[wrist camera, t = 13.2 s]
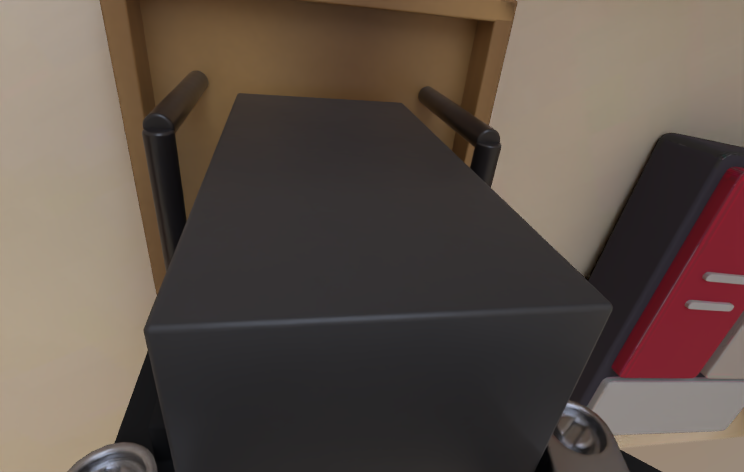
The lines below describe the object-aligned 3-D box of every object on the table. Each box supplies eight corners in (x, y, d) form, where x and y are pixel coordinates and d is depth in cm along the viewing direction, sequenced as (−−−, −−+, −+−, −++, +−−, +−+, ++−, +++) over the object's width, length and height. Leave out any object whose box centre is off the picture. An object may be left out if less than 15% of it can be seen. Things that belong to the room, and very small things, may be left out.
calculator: (940, 195, 17) (733, 443, 24) (822, 162, 21) (671, 384, 27) (747, 155, 14) (569, 451, 21) (650, 126, 18) (525, 384, 24)
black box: (250, 328, 17) (220, 680, 8) (236, 92, 12) (139, 329, 4) (374, 321, 18) (460, 628, 9) (403, 102, 13) (618, 306, 5)
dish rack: (184, 355, 19) (148, 494, 14) (116, -45, 11) (-15, -70, 6) (419, 340, 21) (464, 454, 16) (489, -2, 14) (614, 6, 9)
